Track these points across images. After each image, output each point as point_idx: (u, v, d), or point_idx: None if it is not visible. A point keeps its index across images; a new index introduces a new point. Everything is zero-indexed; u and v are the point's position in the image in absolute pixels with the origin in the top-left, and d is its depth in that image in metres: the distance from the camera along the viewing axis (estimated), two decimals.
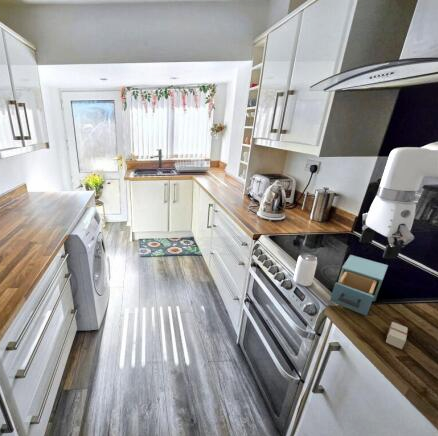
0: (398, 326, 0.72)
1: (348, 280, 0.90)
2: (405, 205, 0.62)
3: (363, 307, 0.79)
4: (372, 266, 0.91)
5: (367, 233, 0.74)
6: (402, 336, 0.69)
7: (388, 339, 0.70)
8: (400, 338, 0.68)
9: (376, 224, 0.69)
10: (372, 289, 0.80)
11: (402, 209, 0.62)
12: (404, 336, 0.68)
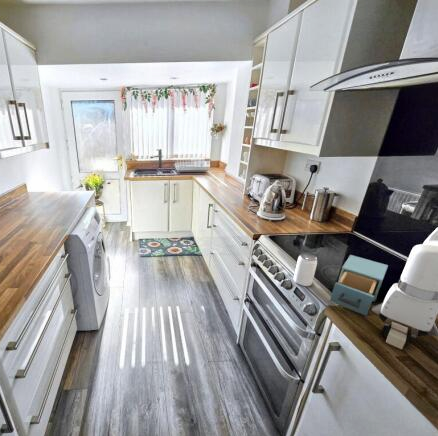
0: (398, 326, 0.72)
1: (348, 280, 0.90)
2: None
3: (363, 307, 0.79)
4: (372, 266, 0.91)
5: None
6: (402, 336, 0.69)
7: (388, 339, 0.70)
8: (400, 338, 0.68)
9: (405, 318, 0.67)
10: (372, 289, 0.80)
11: None
12: (404, 336, 0.68)
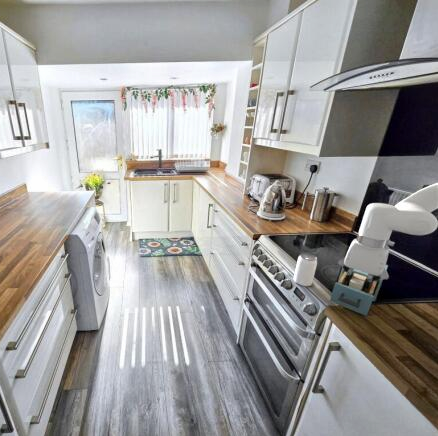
0: (359, 276, 0.86)
1: None
2: (388, 250, 0.76)
3: (363, 307, 0.79)
4: None
5: None
6: (361, 282, 0.83)
7: (349, 285, 0.84)
8: (358, 283, 0.82)
9: (362, 266, 0.81)
10: (372, 289, 0.80)
11: (387, 253, 0.76)
12: (362, 282, 0.82)
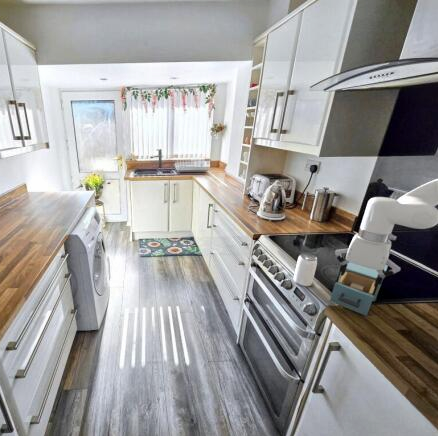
0: (356, 285, 0.87)
1: (348, 280, 0.90)
2: (390, 244, 0.75)
3: (363, 307, 0.79)
4: None
5: (345, 267, 0.86)
6: None
7: None
8: None
9: (364, 260, 0.80)
10: (372, 289, 0.80)
11: (389, 248, 0.75)
12: None
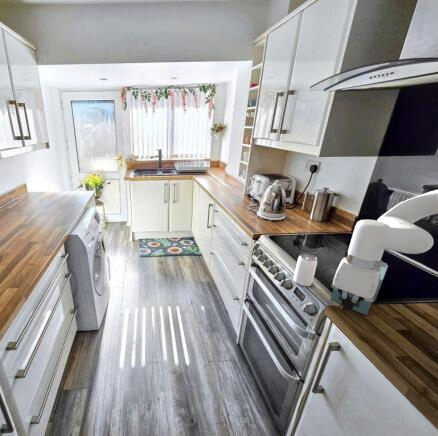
0: None
1: None
2: (379, 271, 0.69)
3: (363, 306, 0.80)
4: None
5: (347, 301, 0.77)
6: None
7: None
8: None
9: (352, 287, 0.74)
10: None
11: (379, 275, 0.69)
12: None
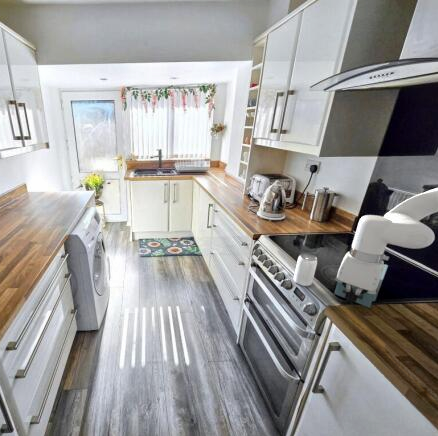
0: None
1: None
2: (382, 264, 0.72)
3: (366, 299, 0.83)
4: None
5: (351, 293, 0.80)
6: None
7: None
8: None
9: (356, 280, 0.77)
10: None
11: (381, 268, 0.72)
12: None
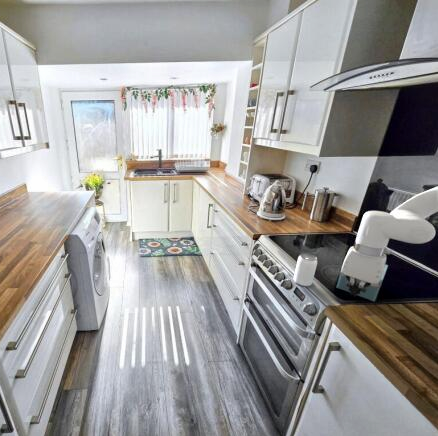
0: None
1: None
2: (385, 258, 0.75)
3: (369, 292, 0.86)
4: None
5: (355, 286, 0.83)
6: None
7: None
8: None
9: (360, 274, 0.80)
10: None
11: (384, 261, 0.75)
12: None
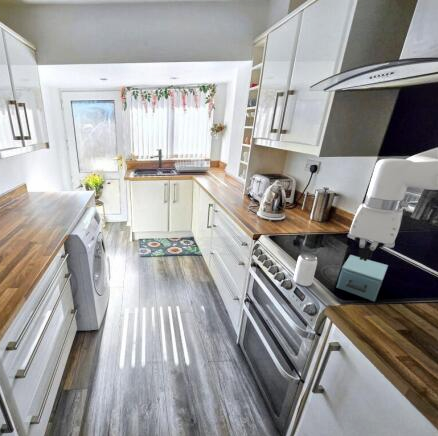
0: None
1: None
2: (401, 212, 0.66)
3: (369, 292, 0.86)
4: (372, 266, 0.91)
5: (365, 250, 0.73)
6: None
7: None
8: None
9: (371, 233, 0.70)
10: None
11: (400, 216, 0.66)
12: None
